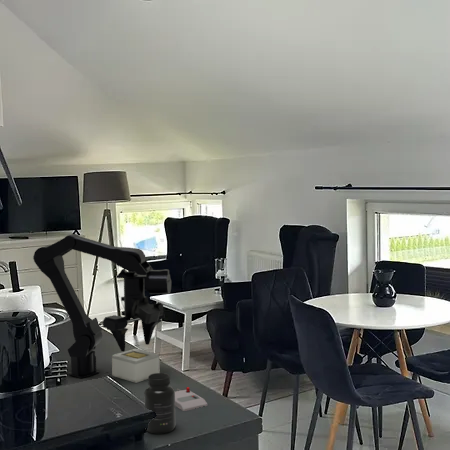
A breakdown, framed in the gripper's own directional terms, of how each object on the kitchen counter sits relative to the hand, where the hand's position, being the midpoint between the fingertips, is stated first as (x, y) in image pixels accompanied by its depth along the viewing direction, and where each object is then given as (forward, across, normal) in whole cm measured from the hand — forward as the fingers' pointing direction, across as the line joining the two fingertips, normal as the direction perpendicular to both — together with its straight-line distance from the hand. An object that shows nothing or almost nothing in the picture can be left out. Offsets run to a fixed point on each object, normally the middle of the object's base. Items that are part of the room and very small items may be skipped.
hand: (135, 347), depth 176 cm
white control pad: (+9, -7, -25) cm, 28 cm away
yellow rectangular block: (+8, 0, 0) cm, 8 cm away
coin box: (+8, 0, 0) cm, 8 cm away
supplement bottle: (+8, -22, -33) cm, 41 cm away
